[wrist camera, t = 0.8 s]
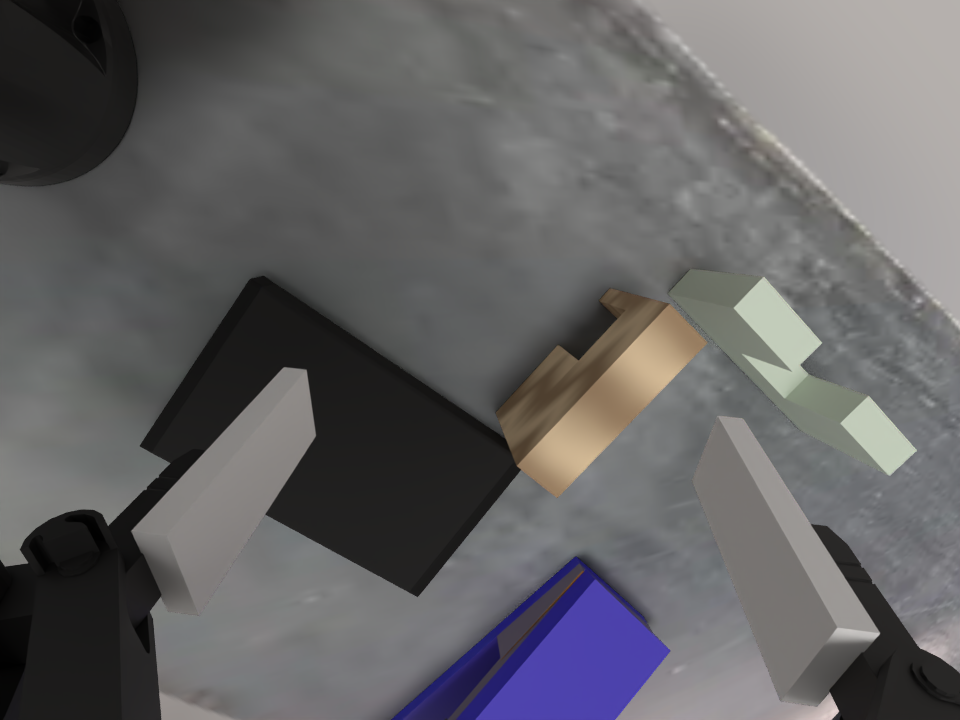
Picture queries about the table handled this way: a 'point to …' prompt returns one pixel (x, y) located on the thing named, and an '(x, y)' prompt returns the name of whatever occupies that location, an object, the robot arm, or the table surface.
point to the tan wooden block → (595, 389)
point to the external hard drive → (346, 438)
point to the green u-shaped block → (788, 365)
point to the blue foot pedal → (550, 659)
